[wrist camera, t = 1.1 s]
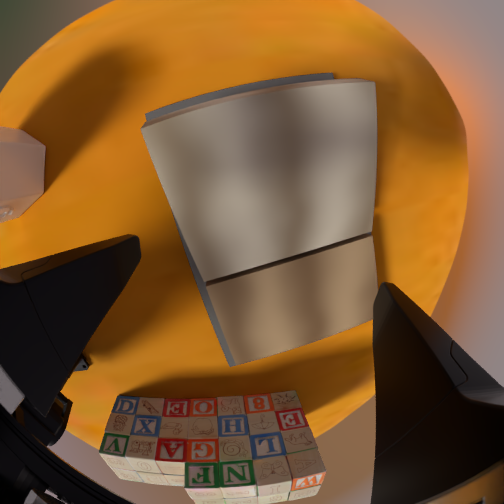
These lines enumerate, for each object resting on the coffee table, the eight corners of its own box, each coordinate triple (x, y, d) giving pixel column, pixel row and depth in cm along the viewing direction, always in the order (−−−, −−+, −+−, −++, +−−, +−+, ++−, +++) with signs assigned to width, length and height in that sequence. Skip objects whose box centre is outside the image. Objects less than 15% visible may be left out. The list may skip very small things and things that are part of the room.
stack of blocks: (131, 425, 28) (114, 498, 16) (116, 393, 26) (89, 473, 14) (293, 420, 30) (317, 496, 18) (296, 388, 28) (328, 473, 17)
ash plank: (202, 264, 22) (204, 281, 20) (145, 121, 14) (140, 128, 12) (360, 218, 22) (371, 231, 21) (358, 78, 14) (375, 82, 13)
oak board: (234, 352, 25) (236, 365, 23) (206, 277, 22) (205, 286, 20) (369, 307, 25) (379, 316, 23) (361, 231, 23) (372, 235, 21)
